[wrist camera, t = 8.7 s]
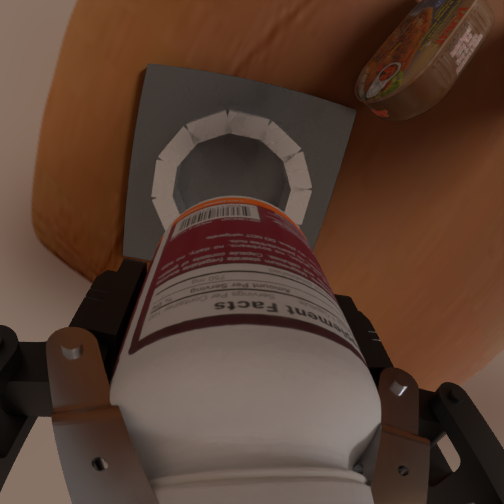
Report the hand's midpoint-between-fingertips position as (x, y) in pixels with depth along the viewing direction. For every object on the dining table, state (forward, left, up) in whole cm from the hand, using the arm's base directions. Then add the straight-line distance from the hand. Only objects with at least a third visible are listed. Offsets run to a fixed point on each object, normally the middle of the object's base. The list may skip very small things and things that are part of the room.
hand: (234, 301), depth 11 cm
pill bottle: (0, 0, -3) cm, 3 cm away
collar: (0, 0, -16) cm, 16 cm away
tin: (-11, -15, -17) cm, 25 cm away
